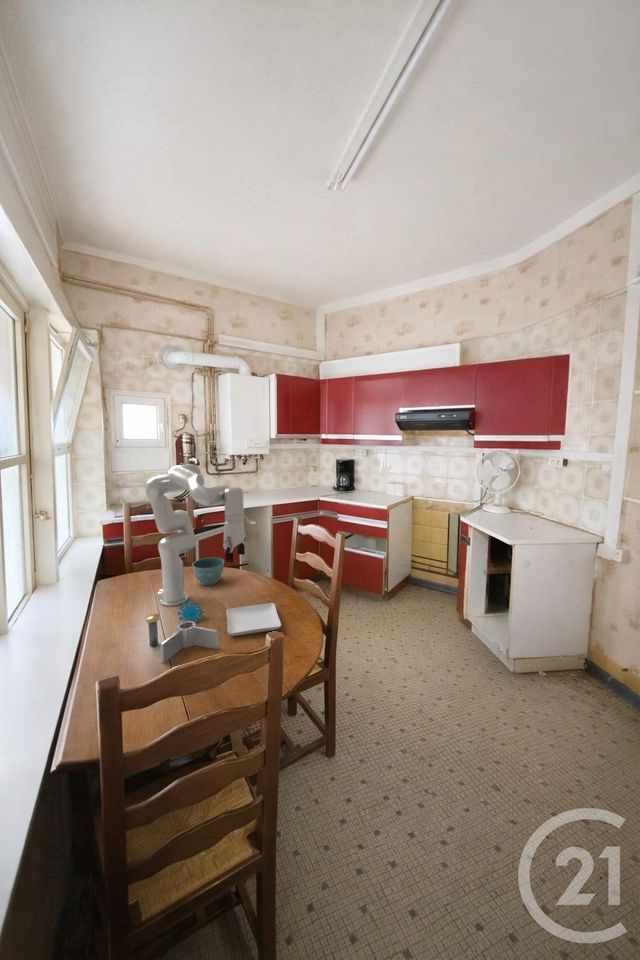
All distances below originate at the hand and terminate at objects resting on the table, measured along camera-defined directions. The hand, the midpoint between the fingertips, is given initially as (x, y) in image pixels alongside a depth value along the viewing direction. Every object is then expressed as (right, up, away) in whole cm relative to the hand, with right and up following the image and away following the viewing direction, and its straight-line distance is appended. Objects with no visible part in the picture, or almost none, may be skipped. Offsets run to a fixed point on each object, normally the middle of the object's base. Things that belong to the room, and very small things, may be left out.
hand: (235, 557), depth 157 cm
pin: (-28, -30, -15) cm, 43 cm away
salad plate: (+7, -28, +2) cm, 29 cm away
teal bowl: (-24, -22, +45) cm, 56 cm away
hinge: (-12, -31, -19) cm, 38 cm away
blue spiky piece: (-20, -28, +4) cm, 34 cm away
